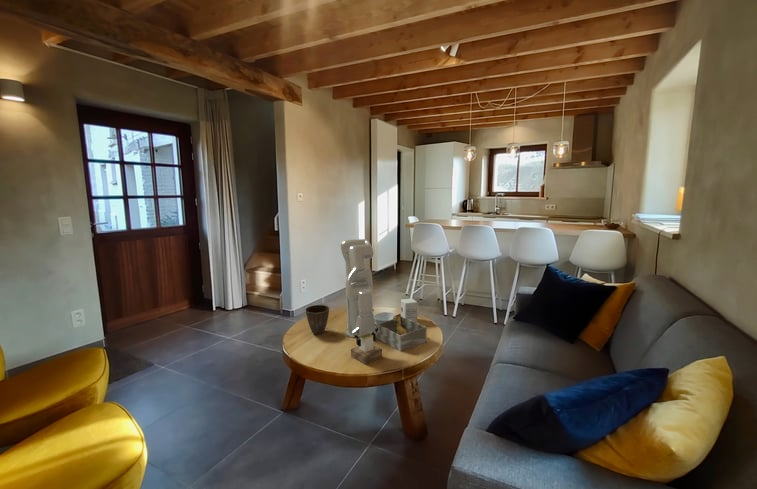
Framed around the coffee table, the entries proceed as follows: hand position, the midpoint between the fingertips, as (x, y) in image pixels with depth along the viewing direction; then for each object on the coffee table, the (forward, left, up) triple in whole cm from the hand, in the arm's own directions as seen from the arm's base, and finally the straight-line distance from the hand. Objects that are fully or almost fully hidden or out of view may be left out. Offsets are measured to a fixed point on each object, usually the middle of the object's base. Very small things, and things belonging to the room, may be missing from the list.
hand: (366, 343), depth 185 cm
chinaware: (-26, +33, -8) cm, 43 cm away
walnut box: (0, 0, -9) cm, 9 cm away
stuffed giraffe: (-5, +29, -8) cm, 30 cm away
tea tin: (0, 0, -4) cm, 4 cm away
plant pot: (-46, -6, -8) cm, 47 cm away
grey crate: (-5, +29, -8) cm, 31 cm away
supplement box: (-24, +52, -8) cm, 58 cm away
